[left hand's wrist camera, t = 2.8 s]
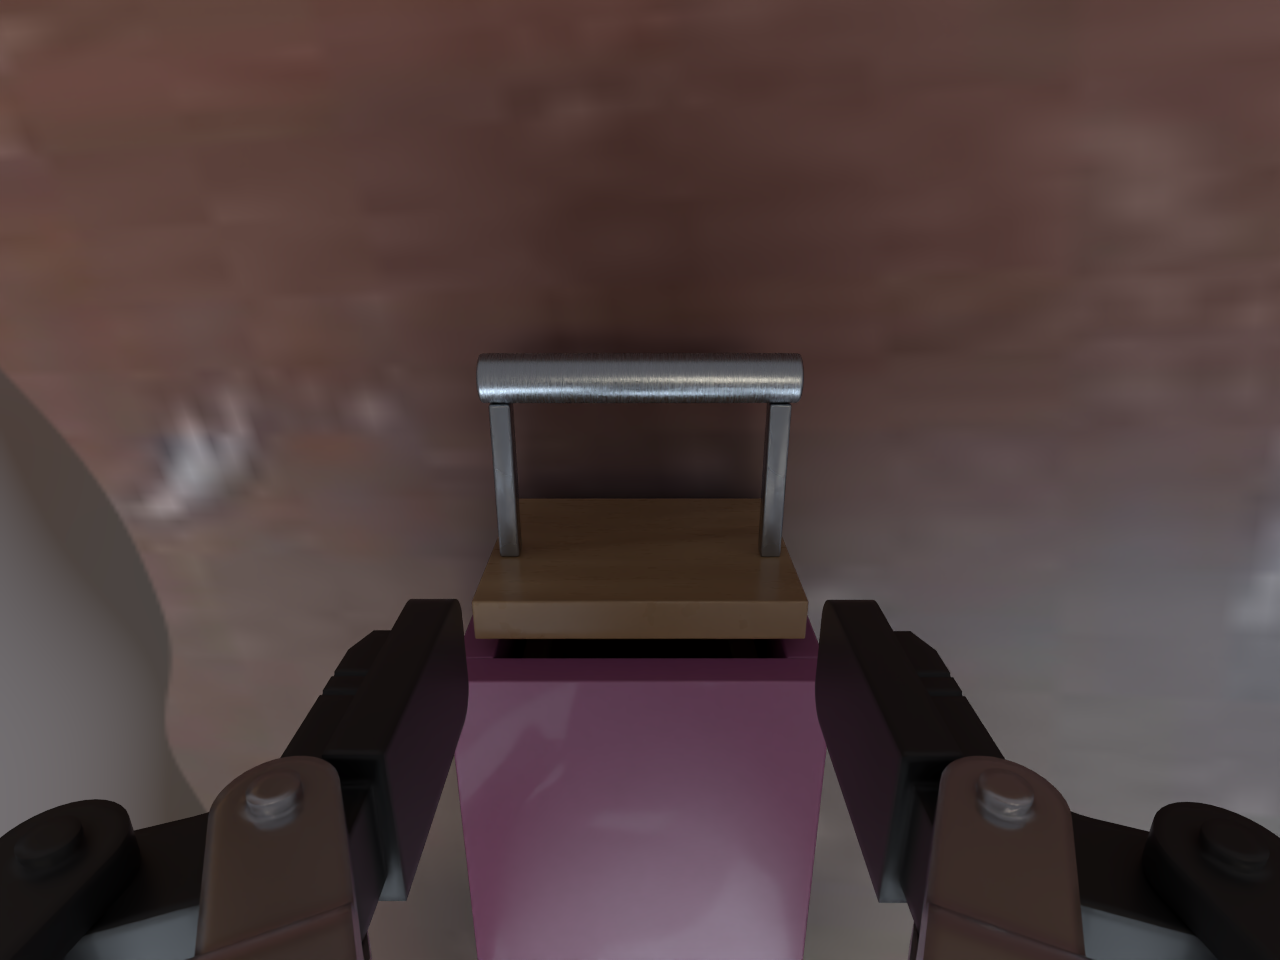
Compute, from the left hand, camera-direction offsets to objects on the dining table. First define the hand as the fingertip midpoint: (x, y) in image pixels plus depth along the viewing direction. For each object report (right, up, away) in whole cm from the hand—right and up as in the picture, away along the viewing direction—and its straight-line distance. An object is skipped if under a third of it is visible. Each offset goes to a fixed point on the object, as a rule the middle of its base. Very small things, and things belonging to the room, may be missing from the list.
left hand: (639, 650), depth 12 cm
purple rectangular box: (0, -9, +20) cm, 22 cm away
